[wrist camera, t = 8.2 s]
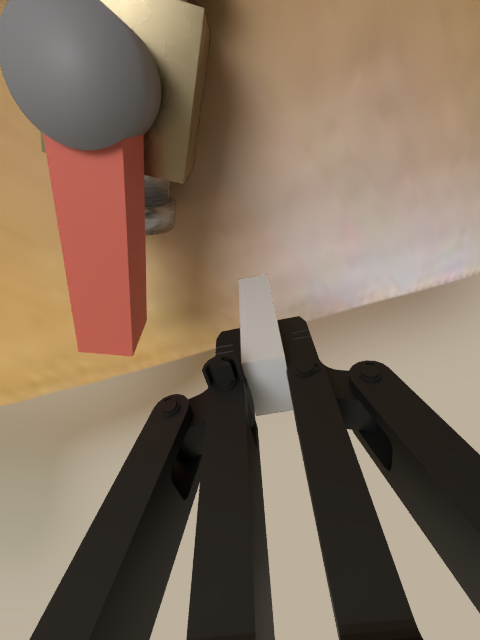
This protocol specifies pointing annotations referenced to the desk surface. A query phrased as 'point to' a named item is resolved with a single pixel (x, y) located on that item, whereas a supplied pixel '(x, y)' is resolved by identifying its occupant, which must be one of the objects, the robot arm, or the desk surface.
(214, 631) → the robot arm
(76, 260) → the lever
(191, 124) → the valve body
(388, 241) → the desk surface
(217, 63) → the desk surface
